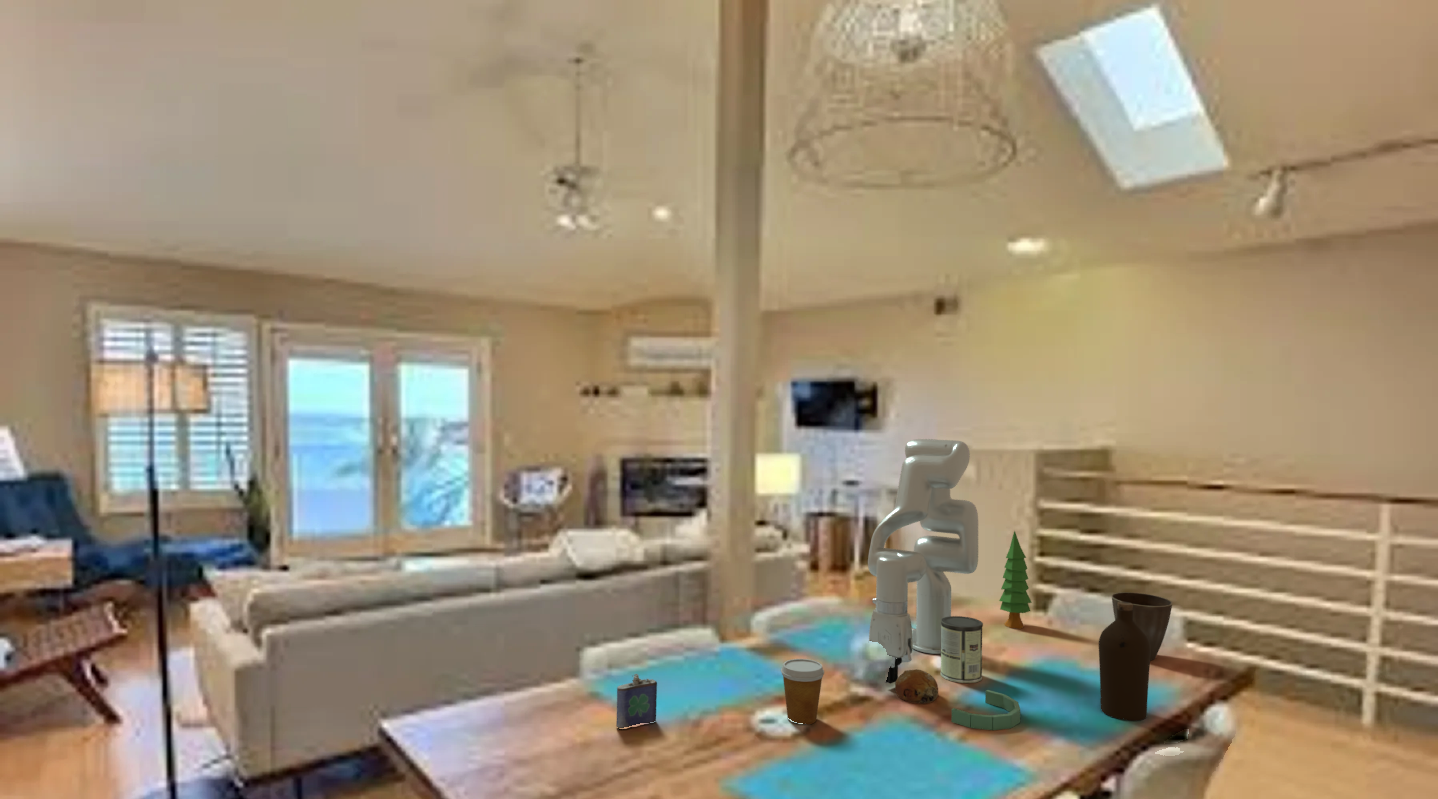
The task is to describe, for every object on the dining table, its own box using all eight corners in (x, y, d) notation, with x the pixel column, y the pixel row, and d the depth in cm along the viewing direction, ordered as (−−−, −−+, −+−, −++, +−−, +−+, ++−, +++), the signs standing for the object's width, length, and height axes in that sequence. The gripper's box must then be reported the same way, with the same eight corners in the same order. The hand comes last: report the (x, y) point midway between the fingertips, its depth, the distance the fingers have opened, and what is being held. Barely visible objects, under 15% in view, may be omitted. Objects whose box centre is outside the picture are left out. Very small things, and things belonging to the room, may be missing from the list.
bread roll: (935, 707, 198) (933, 672, 202) (942, 703, 189) (940, 667, 192) (894, 705, 199) (892, 671, 202) (898, 701, 190) (897, 665, 193)
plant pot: (1173, 654, 229) (1174, 597, 229) (1169, 669, 217) (1170, 608, 217) (1114, 645, 238) (1115, 589, 237) (1107, 658, 225) (1108, 600, 225)
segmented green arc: (951, 721, 180) (951, 709, 180) (987, 701, 192) (987, 689, 192) (997, 736, 173) (998, 723, 173) (1032, 714, 185) (1032, 702, 185)
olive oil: (1159, 722, 181) (1160, 609, 181) (1110, 722, 181) (1112, 609, 181) (1135, 704, 192) (1136, 597, 191) (1089, 703, 192) (1091, 597, 192)
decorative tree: (1000, 628, 253) (1002, 531, 252) (995, 620, 262) (996, 526, 262) (1033, 630, 251) (1035, 532, 251) (1027, 622, 260) (1028, 527, 260)
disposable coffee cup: (827, 714, 184) (828, 660, 184) (818, 730, 175) (819, 674, 175) (786, 708, 187) (786, 656, 187) (775, 724, 178) (775, 669, 178)
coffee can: (951, 666, 217) (952, 613, 217) (989, 676, 210) (989, 621, 210) (932, 676, 209) (933, 621, 209) (970, 686, 202) (971, 629, 202)
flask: (619, 731, 173) (619, 680, 173) (613, 726, 176) (614, 676, 176) (658, 723, 178) (659, 673, 178) (652, 718, 180) (653, 669, 180)
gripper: (857, 603, 203) (856, 677, 203) (910, 615, 193) (909, 693, 193) (874, 598, 209) (873, 670, 209) (926, 609, 198) (925, 685, 198)
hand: (890, 681), depth 201 cm, fingers closed
